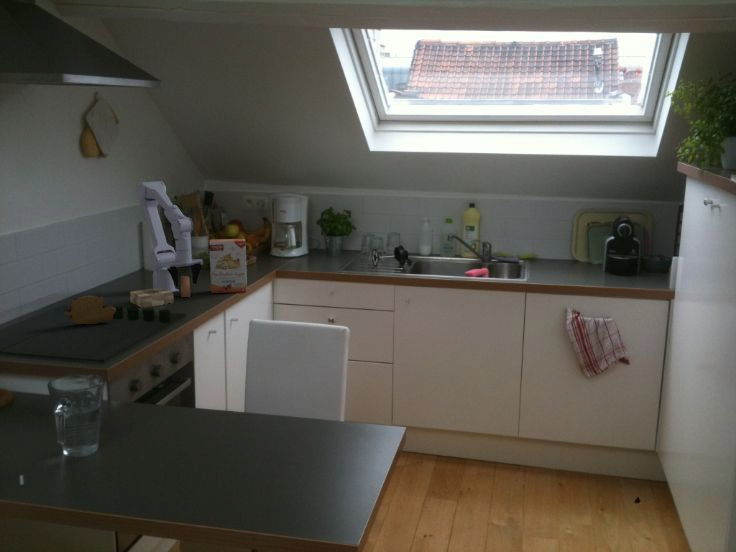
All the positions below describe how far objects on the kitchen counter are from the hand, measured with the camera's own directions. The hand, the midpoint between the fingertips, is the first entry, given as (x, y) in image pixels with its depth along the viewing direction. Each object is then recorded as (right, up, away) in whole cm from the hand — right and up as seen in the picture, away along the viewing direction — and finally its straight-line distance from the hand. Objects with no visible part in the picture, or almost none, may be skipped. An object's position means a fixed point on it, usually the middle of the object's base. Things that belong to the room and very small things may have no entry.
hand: (185, 284), depth 287 cm
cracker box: (+15, -3, +10) cm, 18 cm away
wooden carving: (-22, -13, -39) cm, 46 cm away
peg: (0, -5, +1) cm, 5 cm away
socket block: (-11, -7, -8) cm, 15 cm away
